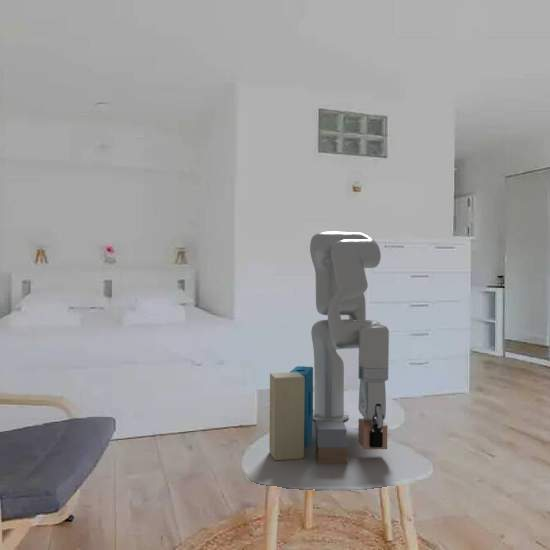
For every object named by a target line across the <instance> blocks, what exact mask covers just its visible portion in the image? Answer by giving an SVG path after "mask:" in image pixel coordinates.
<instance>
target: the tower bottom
mask: <svg viewBox="0 0 550 550" xmlns="http://www.w3.org/2000/svg"><path fill="white" fill-rule="evenodd" d="M315 457H316V460H317V463H318V465H319V466H331V465H333V466H335V465H336V466H337V465H348V445H347V444H346V447H318V445H317V440H316V439H315Z"/></svg>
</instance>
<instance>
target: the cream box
mask: <svg viewBox="0 0 550 550" xmlns="http://www.w3.org/2000/svg"><path fill="white" fill-rule="evenodd" d="M304 405H305V377H304V376H303V375H301V374H300V373H298V372H291V373H289V372H270V373H269V444H268V445H269V447H268V448H269V454H270V455H271V457H272V458H273V460H274V461H286V460H300V459H304V458H305V447H304Z"/></svg>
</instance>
